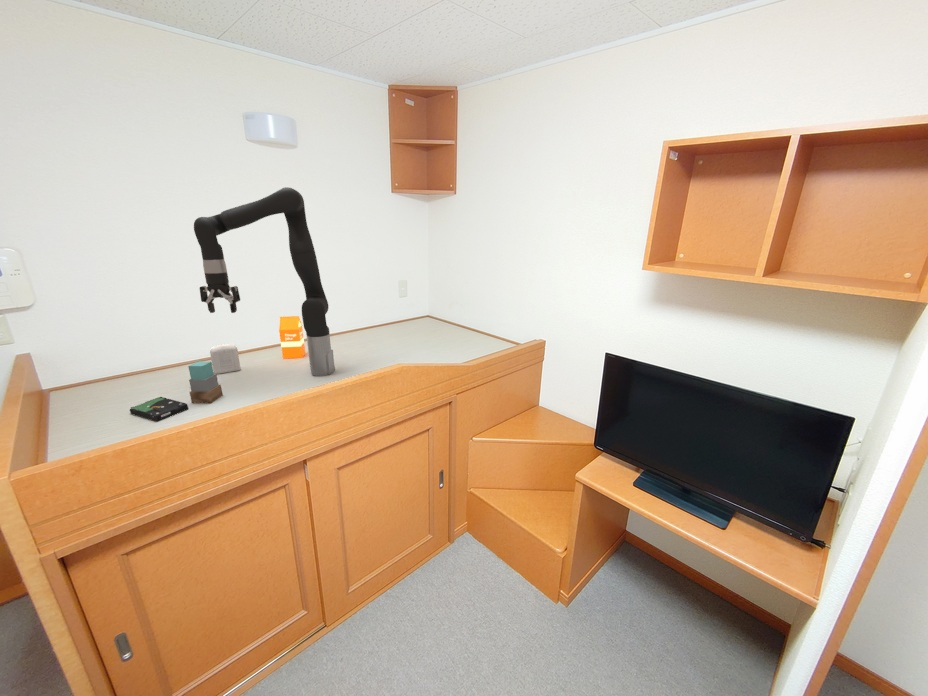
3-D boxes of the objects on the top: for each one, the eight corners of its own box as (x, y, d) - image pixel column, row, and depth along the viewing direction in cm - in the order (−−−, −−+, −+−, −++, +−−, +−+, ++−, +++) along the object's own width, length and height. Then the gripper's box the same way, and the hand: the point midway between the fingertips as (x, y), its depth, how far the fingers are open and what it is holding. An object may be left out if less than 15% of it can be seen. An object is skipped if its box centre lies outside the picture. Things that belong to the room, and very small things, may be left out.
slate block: (218, 385, 146) (216, 374, 145) (207, 391, 141) (205, 380, 139) (202, 385, 146) (200, 373, 145) (191, 391, 141) (189, 379, 139)
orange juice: (302, 358, 190) (297, 317, 184) (282, 359, 189) (277, 318, 183) (305, 353, 198) (300, 314, 192) (287, 354, 196) (281, 315, 190)
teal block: (213, 374, 145) (211, 361, 143) (204, 379, 140) (202, 366, 138) (200, 374, 145) (198, 361, 143) (191, 379, 140) (188, 365, 139)
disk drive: (189, 410, 137) (162, 403, 143) (188, 403, 136) (160, 395, 142) (157, 423, 128) (129, 414, 133) (156, 415, 127) (127, 407, 132)
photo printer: (240, 367, 177) (235, 341, 173) (241, 370, 174) (236, 343, 170) (213, 372, 172) (208, 345, 168) (214, 375, 168) (208, 347, 165)
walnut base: (222, 395, 148) (220, 384, 147) (211, 403, 141) (208, 392, 140) (204, 395, 148) (202, 384, 147) (192, 403, 142) (189, 391, 140)
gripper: (239, 270, 155) (246, 310, 160) (204, 270, 155) (211, 310, 160) (228, 272, 148) (235, 314, 153) (190, 272, 148) (199, 314, 153)
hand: (223, 312), depth 156 cm, fingers open, 8 cm apart
